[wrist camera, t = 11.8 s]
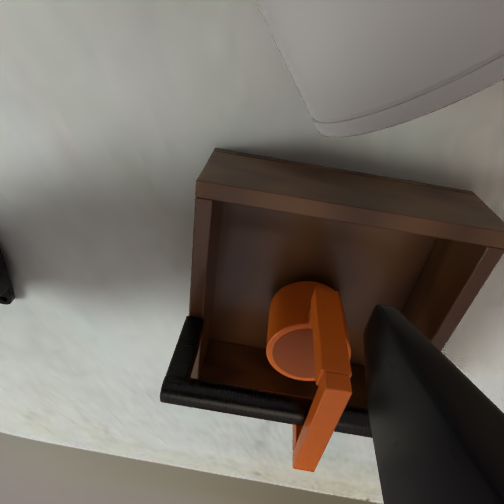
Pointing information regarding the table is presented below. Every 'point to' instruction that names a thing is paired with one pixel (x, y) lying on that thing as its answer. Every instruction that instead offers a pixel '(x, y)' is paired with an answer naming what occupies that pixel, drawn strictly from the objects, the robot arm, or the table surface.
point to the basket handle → (241, 392)
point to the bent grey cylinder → (385, 56)
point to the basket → (327, 258)
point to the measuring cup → (312, 360)
